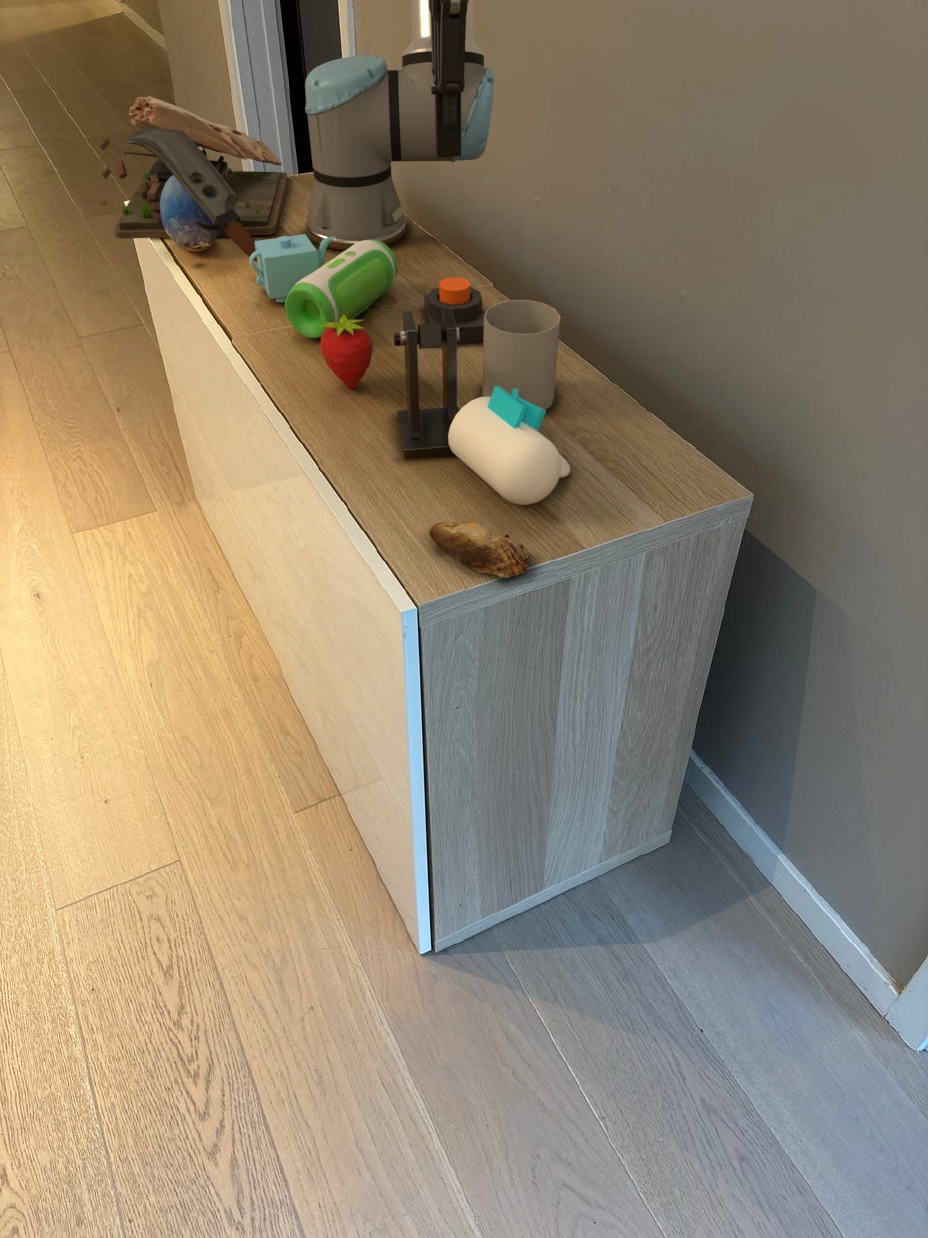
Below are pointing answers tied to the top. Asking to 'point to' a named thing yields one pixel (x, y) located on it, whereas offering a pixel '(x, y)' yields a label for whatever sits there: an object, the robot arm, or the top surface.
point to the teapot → (286, 262)
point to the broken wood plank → (199, 130)
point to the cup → (521, 350)
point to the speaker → (341, 287)
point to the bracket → (418, 426)
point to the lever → (425, 336)
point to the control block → (458, 315)
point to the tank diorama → (254, 189)
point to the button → (454, 290)
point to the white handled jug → (507, 446)
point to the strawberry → (346, 350)
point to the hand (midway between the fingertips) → (448, 154)
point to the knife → (197, 168)
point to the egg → (184, 218)
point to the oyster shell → (480, 548)
